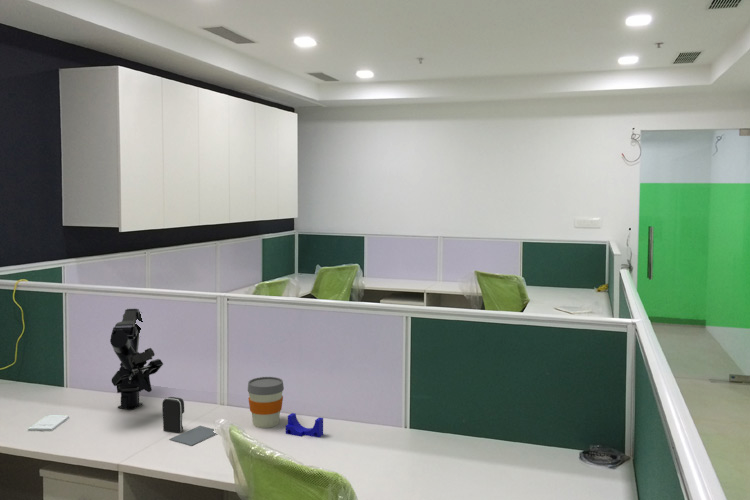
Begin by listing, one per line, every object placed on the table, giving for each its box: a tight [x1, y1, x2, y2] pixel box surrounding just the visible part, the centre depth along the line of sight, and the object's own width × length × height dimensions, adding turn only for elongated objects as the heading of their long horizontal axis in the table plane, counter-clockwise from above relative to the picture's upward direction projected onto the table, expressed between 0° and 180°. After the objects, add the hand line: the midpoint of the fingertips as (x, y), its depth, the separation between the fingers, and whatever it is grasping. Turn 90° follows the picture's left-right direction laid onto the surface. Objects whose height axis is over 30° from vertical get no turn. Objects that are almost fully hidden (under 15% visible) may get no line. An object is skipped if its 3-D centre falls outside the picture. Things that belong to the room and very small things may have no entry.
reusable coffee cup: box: [247, 376, 284, 429], centre depth 233 cm, size 13×13×15 cm
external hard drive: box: [27, 414, 70, 432], centre depth 230 cm, size 2×8×12 cm
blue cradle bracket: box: [285, 412, 324, 439], centre depth 223 cm, size 12×4×6 cm, turn 68°
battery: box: [161, 396, 185, 433], centre depth 225 cm, size 7×4×11 cm, turn 72°
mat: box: [168, 425, 217, 447], centre depth 221 cm, size 10×14×1 cm
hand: (150, 391), depth 230 cm, fingers closed
